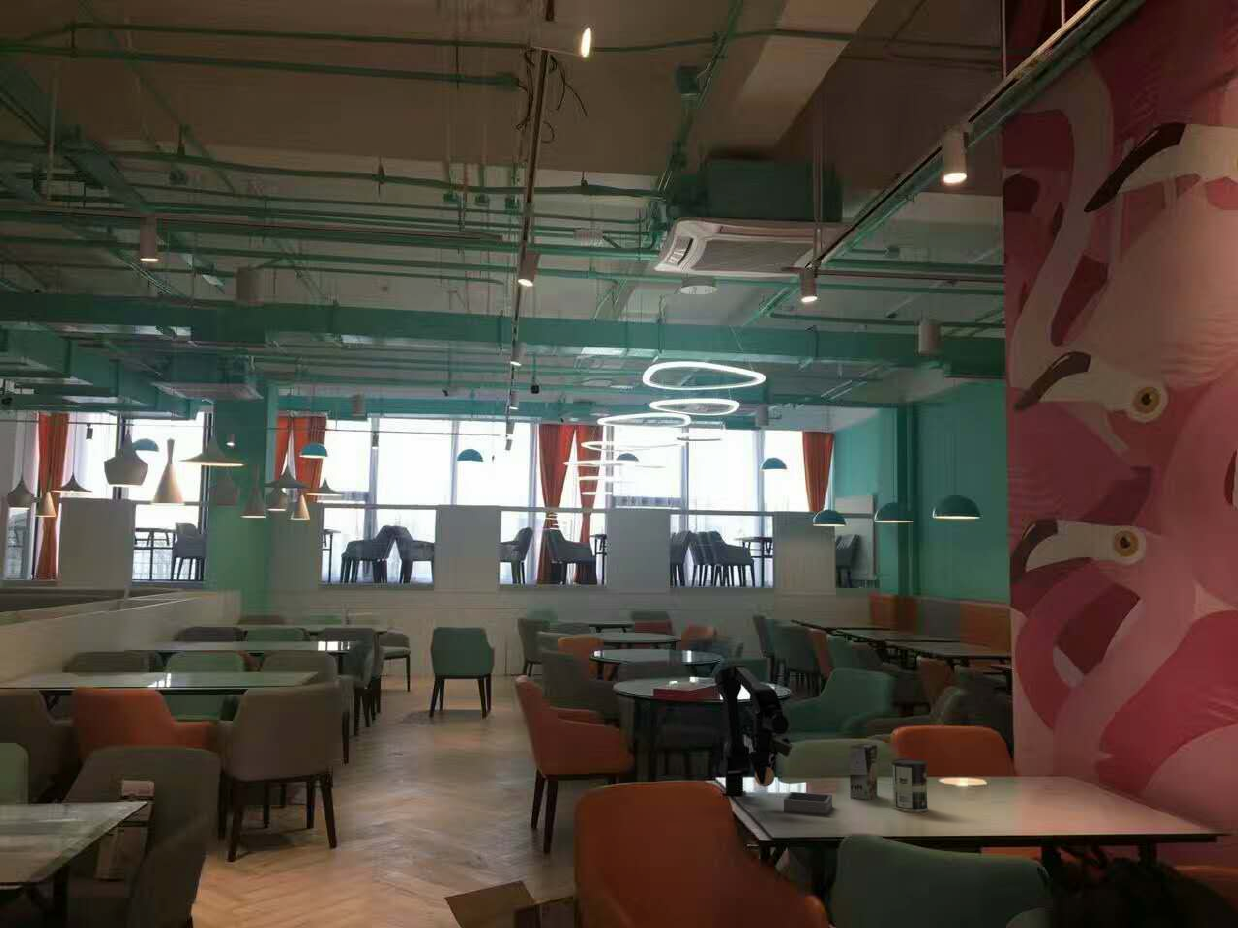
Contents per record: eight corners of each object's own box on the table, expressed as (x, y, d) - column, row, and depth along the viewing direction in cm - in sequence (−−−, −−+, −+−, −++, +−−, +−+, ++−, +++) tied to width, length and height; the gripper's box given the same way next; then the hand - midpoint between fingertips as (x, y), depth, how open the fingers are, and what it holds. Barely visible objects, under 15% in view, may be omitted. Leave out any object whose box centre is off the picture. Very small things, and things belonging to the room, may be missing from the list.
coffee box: (869, 800, 319) (868, 748, 321) (850, 797, 323) (849, 746, 325) (878, 795, 327) (877, 744, 329) (858, 793, 330) (858, 742, 332)
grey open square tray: (791, 803, 313) (790, 791, 313) (832, 806, 309) (831, 794, 309) (783, 811, 301) (783, 799, 302) (826, 814, 297) (826, 802, 298)
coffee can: (926, 805, 312) (924, 759, 314) (929, 812, 302) (928, 764, 304) (891, 804, 314) (890, 757, 316) (893, 811, 304) (892, 762, 306)
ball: (756, 783, 312) (756, 763, 313) (776, 785, 310) (775, 765, 311) (752, 787, 306) (752, 766, 307) (772, 788, 304) (772, 768, 305)
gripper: (785, 735, 299) (785, 789, 297) (795, 727, 316) (795, 778, 314) (748, 733, 302) (748, 786, 301) (760, 725, 320) (760, 776, 318)
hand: (764, 781), depth 308 cm, fingers closed on ball, 6 cm apart
